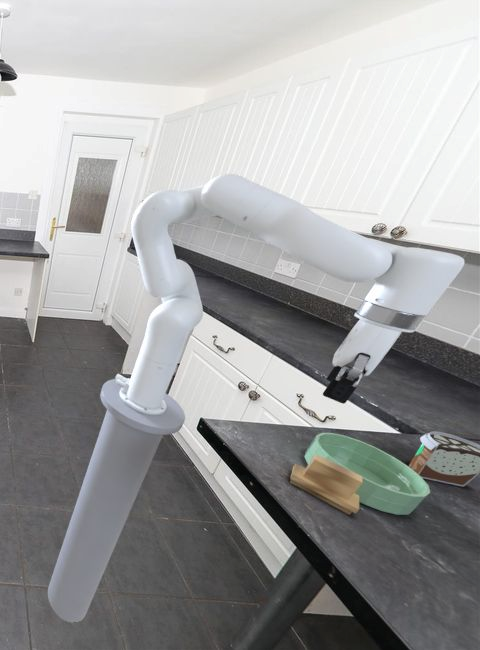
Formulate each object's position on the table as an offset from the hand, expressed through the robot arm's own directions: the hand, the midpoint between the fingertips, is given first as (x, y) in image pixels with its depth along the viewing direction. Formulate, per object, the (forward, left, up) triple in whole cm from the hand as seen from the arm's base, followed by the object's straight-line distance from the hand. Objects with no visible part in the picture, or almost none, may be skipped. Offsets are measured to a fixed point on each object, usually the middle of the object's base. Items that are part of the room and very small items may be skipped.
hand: (334, 390), depth 68 cm
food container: (+23, +31, -22) cm, 45 cm away
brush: (+6, -2, -22) cm, 23 cm away
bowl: (+11, +10, -22) cm, 27 cm away
